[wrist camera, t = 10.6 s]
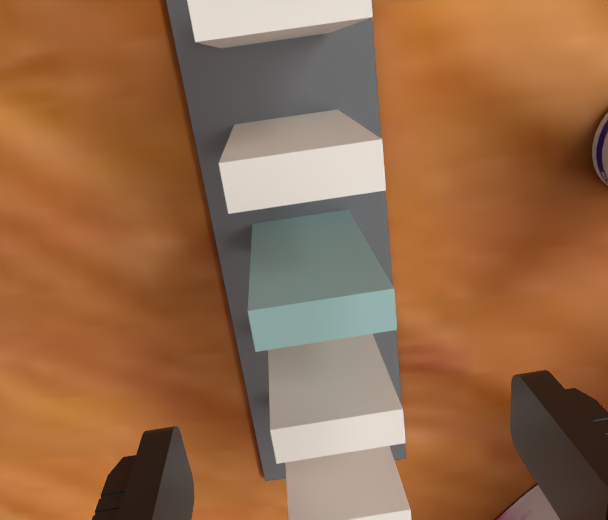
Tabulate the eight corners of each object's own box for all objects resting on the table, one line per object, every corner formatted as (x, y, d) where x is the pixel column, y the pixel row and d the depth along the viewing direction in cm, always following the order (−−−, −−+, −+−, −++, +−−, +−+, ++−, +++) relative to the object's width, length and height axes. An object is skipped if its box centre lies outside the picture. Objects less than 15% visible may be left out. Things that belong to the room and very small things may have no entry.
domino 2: (234, 124, 25) (218, 163, 16) (337, 109, 25) (382, 139, 16) (240, 157, 26) (228, 213, 16) (341, 142, 26) (386, 190, 17)
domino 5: (280, 386, 31) (289, 529, 21) (365, 372, 31) (410, 509, 21) (284, 408, 31) (294, 557, 22) (367, 395, 31) (412, 538, 22)
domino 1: (214, 9, 23) (182, -23, 14) (325, -6, 23) (367, -48, 14) (220, 48, 24) (195, 42, 15) (329, 32, 24) (372, 17, 15)
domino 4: (267, 309, 29) (270, 430, 19) (357, 296, 29) (402, 409, 20) (271, 335, 29) (276, 463, 20) (359, 321, 29) (405, 443, 20)
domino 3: (252, 223, 27) (247, 311, 18) (348, 209, 27) (394, 288, 18) (257, 252, 28) (255, 351, 18) (351, 238, 28) (397, 329, 18)
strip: (153, -65, 22) (152, -67, 22) (361, -94, 23) (363, -96, 22) (265, 476, 33) (265, 481, 33) (404, 454, 34) (406, 458, 33)
